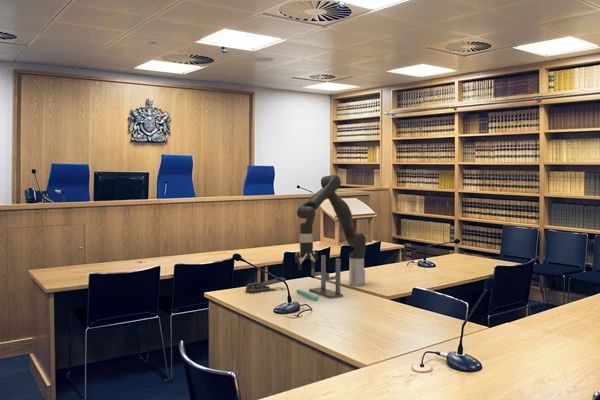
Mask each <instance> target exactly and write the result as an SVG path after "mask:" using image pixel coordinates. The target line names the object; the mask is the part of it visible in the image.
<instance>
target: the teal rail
mask: <svg viewBox="0 0 600 400" xmlns="http://www.w3.org/2000/svg"><path fill="white" fill-rule="evenodd" d="M297 293H298V294H297ZM296 294H297V295H300V296H302V297H305V298H306V299H309V300H310V301H312V302H316V301H318V300H319V297H318V296H316V295H314V294H313V293H311V292H310V293H309V292H308V291H306V290H303V289H301V288H299V289H296Z"/></svg>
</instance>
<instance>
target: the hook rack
mask: <svg viewBox="0 0 600 400" xmlns="http://www.w3.org/2000/svg"><path fill="white" fill-rule="evenodd" d="M320 258H321V259H320V260H321V261H320V269H321V270H320V271H318V272H315V268H311V277H318V276H320V286H319V287H313V288H308V291H309V292H310V293H312V294H313V293H314V294H316V295H319V296H321V297H324V298H327V299H329V300H330V299H331V300H332V299H338V298H342V297H344V294H343V293H341V258H335V275H333V276H332V275H331V276H330V272H327V271H326V270H327V268H326V267H327V264H326V261H327V256H326V255H324V254H323V255H320ZM333 280H334V281H335V290H332V289H328V288H327V287H326V286H327V285H326V283H327V282H326V281H333Z"/></svg>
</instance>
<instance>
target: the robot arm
mask: <svg viewBox="0 0 600 400" xmlns="http://www.w3.org/2000/svg"><path fill="white" fill-rule="evenodd" d="M341 184H342V181H341V178H340V176H339V175H337V174H331V175H326V176H322V177H321V179H320V186H321V189H319V190H318V191H317V192H315V193H314V194H312V196H310V198H309V200H307V201H305V202H304V203H303V204H301V205H300V206H299V207H298V208H297V211H296V216H297V217H298V218H299V219H303V220H304V219H306V220H305V222H302V223H300V224H299V229H300V230H299V232H300V233H299V250H300V251H299V252H298V251H295V253H294V262H295V263H297V266H298V267H297V268H298V270H299V271H302V270H303V264H302V263H303V262H304V261H305V260H307V259H310V262H311V265H310V266H311V269H315V267H316V262H317V261H318V260H319V254H318V250H316V249H314V235H313V225H314V222H315V216H316V210H318V209H319V207H320V206H321V205H322V204H323V202H325V200H327V198H328V200H329V203H330V205H331V206H332V208H333V211H334V214H335V215H336V217H337V220H338V222H339V224H340V226H341V229H342V231H343V234H344V237H345V241H346V242H347V245H348V246H350V247H353V251H352V252H350V253H349V255H348V256H349V257H348V258H349V259H348V260H349V268H348V269H349V274H348V275H349V277H348V279H349V280H348V283H349V286H353V287H360V286H361V287H362V286H365V285H366V270H365V255H366V247H367V246H366V245H367V244H366V243H367V241H366V236H365V235H364V234H363V233H360V232H356V231H355V230H354V227H353V224H352V223H353V222H352V221H353V219H352V217H353V214H352V211H351V208H350V207H349V205H348V203H347V202H346V201H345V200H343V199H342V198H341V197H340V196H339V195H338V194H337V193H336V191H337V190H338V189H340V187H341Z"/></svg>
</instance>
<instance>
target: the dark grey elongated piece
mask: <svg viewBox="0 0 600 400" xmlns="http://www.w3.org/2000/svg"><path fill="white" fill-rule="evenodd" d="M277 278H278V277H276V278H273V279H270V280H266V281H262V282H259V281H258V282H251V283H248V284H246V287H245V294H246V293H247V294H249V293H250V294H249V295H252V294H254V295H255V293H256V294H260V293H261V292H263V293H267V292H268V291H269V292H270V289H271V288H270V286H271V285H275V284H278V283H282V281H280V280H279V279H277ZM279 278H280V279H282V280H284V282H286V281H287V280H286V278H285V277H282V276H281V277H279ZM269 292H268V293H269Z"/></svg>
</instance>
